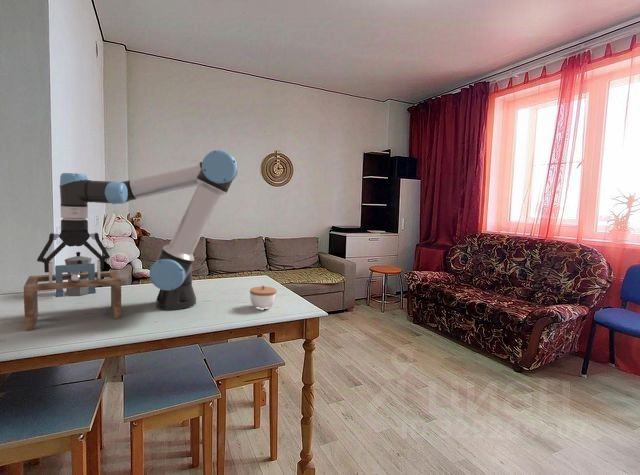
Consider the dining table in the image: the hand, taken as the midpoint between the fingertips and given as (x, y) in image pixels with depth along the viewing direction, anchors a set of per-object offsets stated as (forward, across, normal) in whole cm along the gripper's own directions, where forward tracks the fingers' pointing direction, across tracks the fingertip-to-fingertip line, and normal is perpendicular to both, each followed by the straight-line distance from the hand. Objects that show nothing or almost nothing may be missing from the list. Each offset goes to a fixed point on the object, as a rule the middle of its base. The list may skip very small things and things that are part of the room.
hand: (75, 280), depth 119 cm
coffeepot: (+13, +1, +32) cm, 35 cm away
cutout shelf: (+13, 0, 0) cm, 13 cm away
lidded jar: (+14, +63, -19) cm, 67 cm away
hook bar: (-1, 0, 0) cm, 1 cm away
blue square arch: (+5, 0, 0) cm, 5 cm away
